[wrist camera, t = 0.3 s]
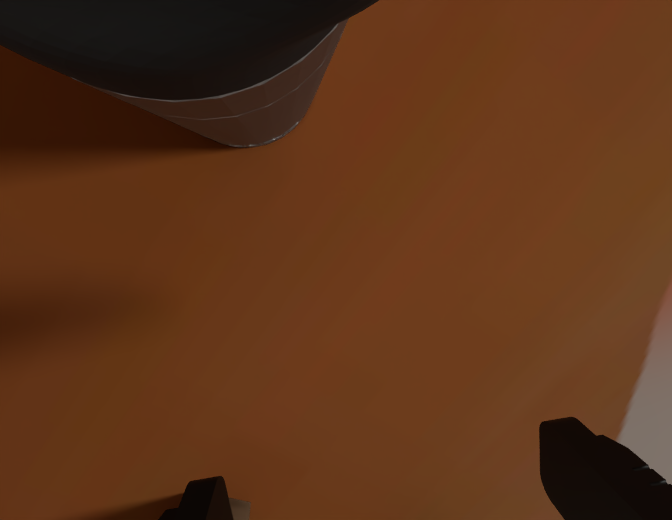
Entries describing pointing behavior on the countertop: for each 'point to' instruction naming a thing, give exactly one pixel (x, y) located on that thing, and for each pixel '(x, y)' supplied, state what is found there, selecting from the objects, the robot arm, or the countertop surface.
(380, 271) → the countertop surface
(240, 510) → the walnut pillar
